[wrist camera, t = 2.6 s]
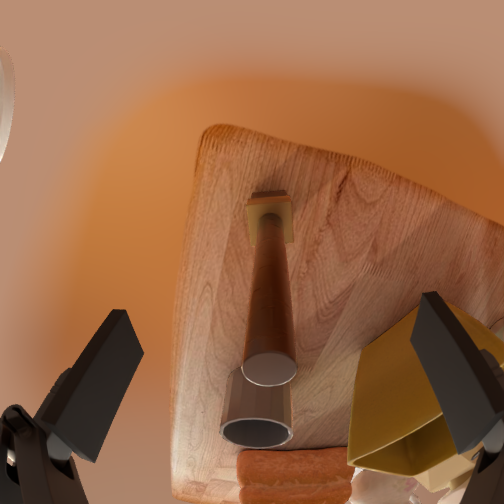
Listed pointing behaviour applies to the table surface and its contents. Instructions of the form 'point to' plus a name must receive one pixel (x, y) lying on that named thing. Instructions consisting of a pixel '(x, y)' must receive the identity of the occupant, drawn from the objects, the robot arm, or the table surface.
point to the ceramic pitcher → (383, 489)
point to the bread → (294, 476)
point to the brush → (270, 293)
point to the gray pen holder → (256, 413)
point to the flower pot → (403, 402)
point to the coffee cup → (499, 329)
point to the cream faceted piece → (451, 476)
